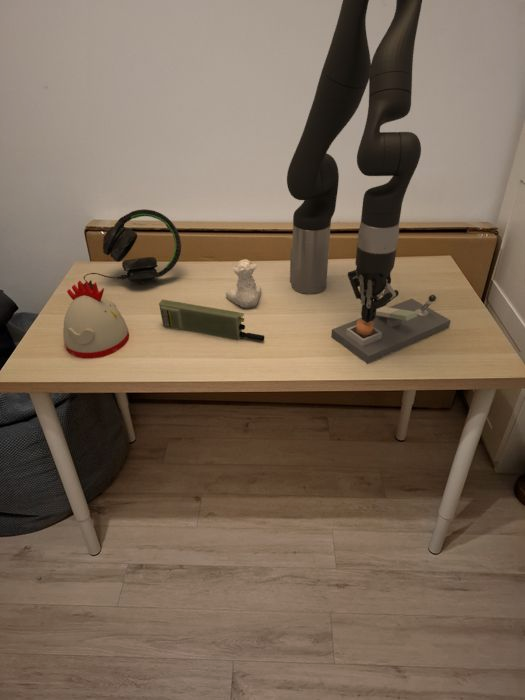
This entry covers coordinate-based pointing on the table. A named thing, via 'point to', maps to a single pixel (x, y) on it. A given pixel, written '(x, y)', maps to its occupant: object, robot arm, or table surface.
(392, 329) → the panel
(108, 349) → the kitchen timer
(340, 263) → the table surface
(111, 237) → the headset
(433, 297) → the lever
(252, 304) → the sitting furry creature
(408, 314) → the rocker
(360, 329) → the button
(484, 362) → the table surface
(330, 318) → the table surface
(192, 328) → the handheld radio
